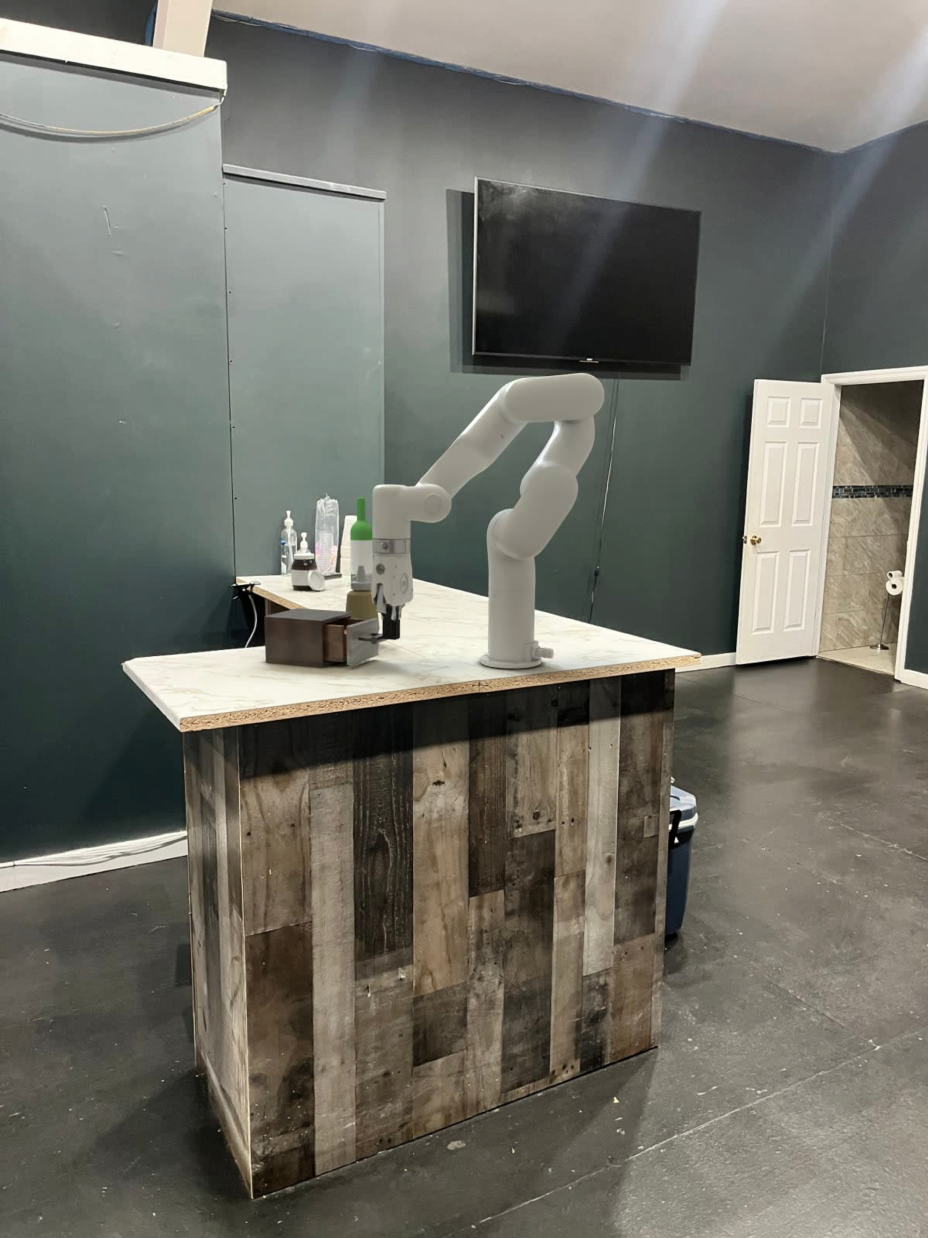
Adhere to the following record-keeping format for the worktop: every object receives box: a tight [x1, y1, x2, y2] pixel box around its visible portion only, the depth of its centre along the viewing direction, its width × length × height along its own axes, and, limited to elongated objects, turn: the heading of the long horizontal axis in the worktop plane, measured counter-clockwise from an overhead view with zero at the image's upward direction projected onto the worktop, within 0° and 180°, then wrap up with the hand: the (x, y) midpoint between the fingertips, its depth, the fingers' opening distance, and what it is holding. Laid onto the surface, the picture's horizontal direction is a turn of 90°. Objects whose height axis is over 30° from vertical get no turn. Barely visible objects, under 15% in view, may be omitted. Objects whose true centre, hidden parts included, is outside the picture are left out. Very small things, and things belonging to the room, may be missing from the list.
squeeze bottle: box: [345, 566, 380, 633], centre depth 208 cm, size 8×8×18 cm
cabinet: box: [263, 607, 353, 668], centre depth 192 cm, size 14×13×10 cm
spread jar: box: [290, 553, 326, 592], centre depth 307 cm, size 12×11×12 cm
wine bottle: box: [349, 497, 374, 583], centre depth 323 cm, size 8×8×30 cm
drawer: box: [324, 617, 390, 666], centre depth 189 cm, size 17×11×8 cm
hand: (391, 638), depth 185 cm, fingers closed
